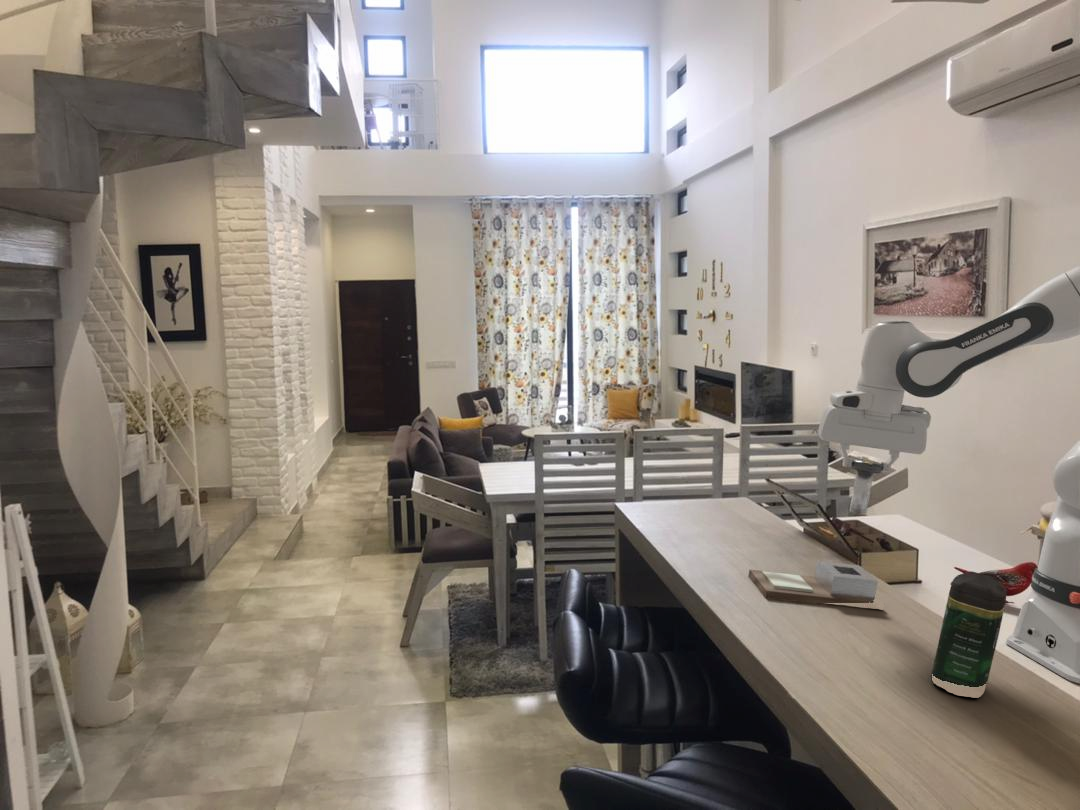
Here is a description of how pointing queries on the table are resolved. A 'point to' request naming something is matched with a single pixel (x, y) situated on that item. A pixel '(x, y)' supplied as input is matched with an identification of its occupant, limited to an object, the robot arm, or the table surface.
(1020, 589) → the decorative bird figurine
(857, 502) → the peg
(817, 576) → the grey socket block
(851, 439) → the robot arm
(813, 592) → the walnut board
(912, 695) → the table surface
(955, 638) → the coffee jar
